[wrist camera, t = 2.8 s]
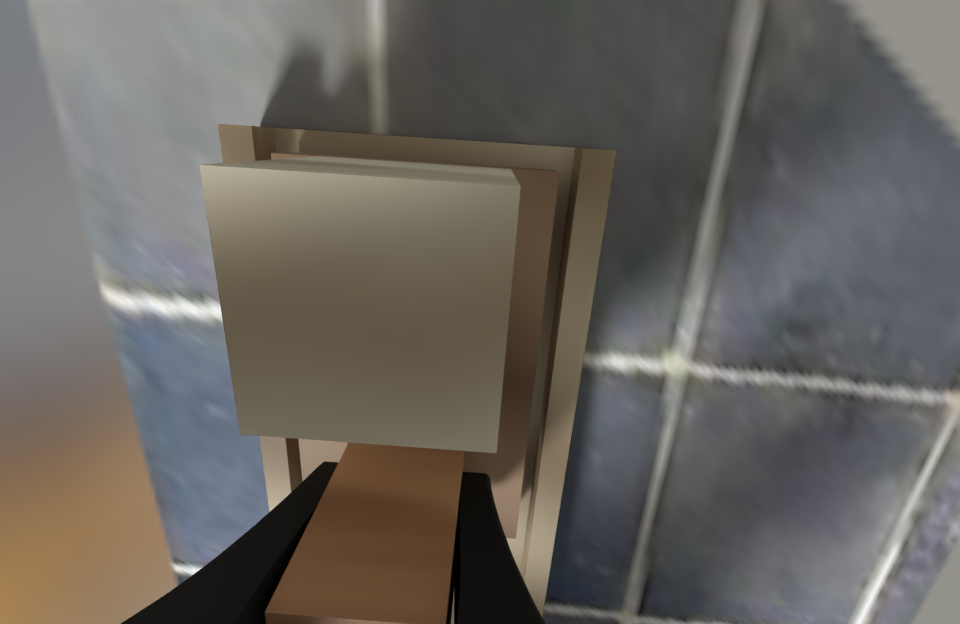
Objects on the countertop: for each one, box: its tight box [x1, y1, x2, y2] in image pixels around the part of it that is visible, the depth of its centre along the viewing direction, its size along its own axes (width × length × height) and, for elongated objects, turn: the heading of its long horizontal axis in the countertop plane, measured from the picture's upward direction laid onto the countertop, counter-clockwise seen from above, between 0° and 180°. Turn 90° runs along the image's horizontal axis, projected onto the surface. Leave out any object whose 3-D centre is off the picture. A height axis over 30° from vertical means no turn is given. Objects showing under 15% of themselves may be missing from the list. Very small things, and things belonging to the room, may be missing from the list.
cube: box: [200, 156, 521, 453], centre depth 8 cm, size 4×4×4 cm
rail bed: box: [218, 124, 617, 624], centre depth 13 cm, size 17×8×2 cm, turn 177°
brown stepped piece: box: [265, 152, 559, 624], centre depth 9 cm, size 10×6×6 cm, turn 177°
